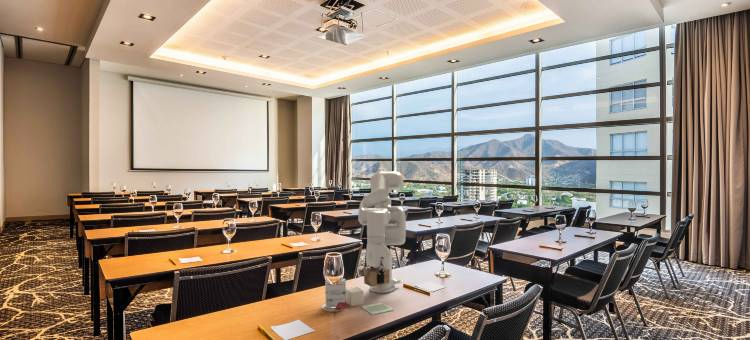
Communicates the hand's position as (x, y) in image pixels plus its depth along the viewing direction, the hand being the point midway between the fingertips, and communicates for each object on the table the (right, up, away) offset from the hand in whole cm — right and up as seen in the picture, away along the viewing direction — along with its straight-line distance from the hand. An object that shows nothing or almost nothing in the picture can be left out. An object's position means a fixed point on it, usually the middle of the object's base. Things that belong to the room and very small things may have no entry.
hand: (376, 281), depth 170 cm
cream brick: (-10, -12, +9) cm, 18 cm away
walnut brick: (0, -1, 0) cm, 1 cm away
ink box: (-18, -13, +4) cm, 22 cm away
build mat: (0, -12, 0) cm, 12 cm away
